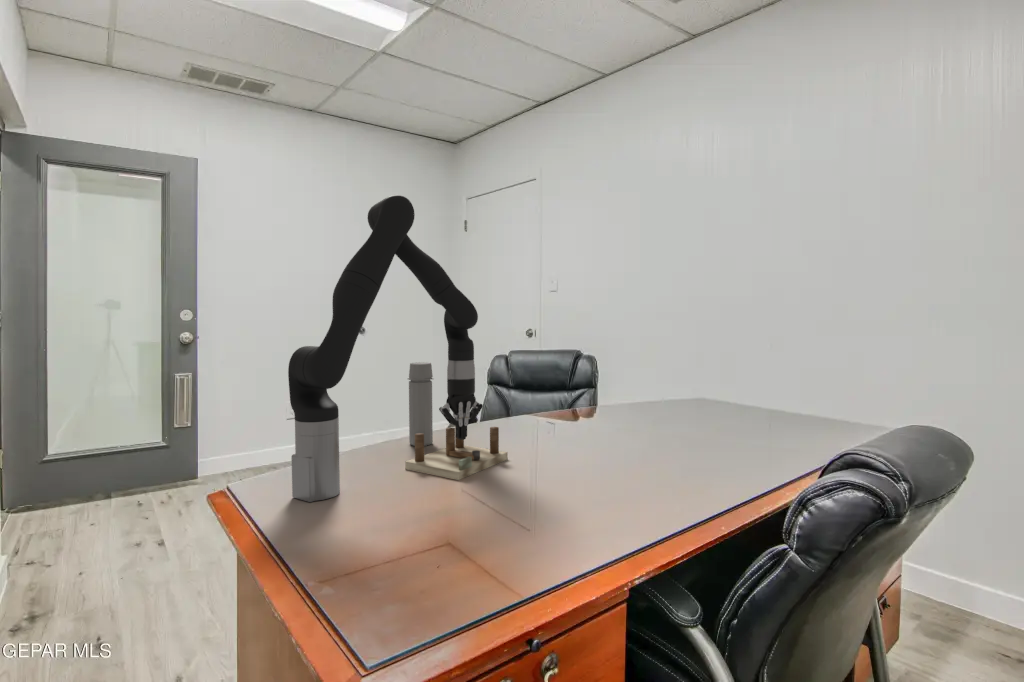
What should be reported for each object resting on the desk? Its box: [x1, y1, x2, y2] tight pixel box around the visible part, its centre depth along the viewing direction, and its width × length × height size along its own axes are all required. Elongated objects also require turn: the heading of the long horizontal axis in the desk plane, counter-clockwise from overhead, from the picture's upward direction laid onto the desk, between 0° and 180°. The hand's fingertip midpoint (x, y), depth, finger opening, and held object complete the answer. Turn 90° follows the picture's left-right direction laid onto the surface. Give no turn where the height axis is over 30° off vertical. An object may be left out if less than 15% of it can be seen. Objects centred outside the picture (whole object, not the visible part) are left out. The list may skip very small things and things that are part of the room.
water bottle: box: [407, 361, 434, 447], centre depth 170 cm, size 9×8×25 cm
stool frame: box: [404, 425, 509, 481], centre depth 148 cm, size 22×17×9 cm
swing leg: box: [445, 427, 480, 460], centre depth 147 cm, size 11×2×7 cm, turn 58°
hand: (461, 439), depth 152 cm, fingers closed
